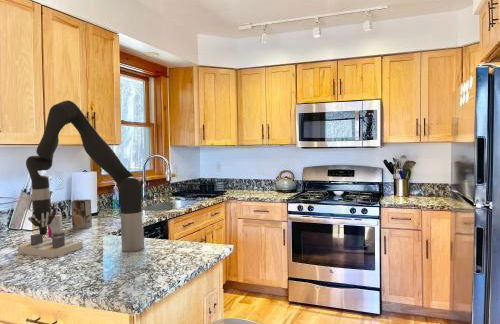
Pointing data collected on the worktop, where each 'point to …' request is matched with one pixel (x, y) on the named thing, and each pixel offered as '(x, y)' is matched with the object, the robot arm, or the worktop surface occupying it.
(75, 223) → the coffee box
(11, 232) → the worktop surface
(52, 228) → the supplement box
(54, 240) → the tab
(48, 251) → the switch panel
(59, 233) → the tab
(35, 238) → the tab
